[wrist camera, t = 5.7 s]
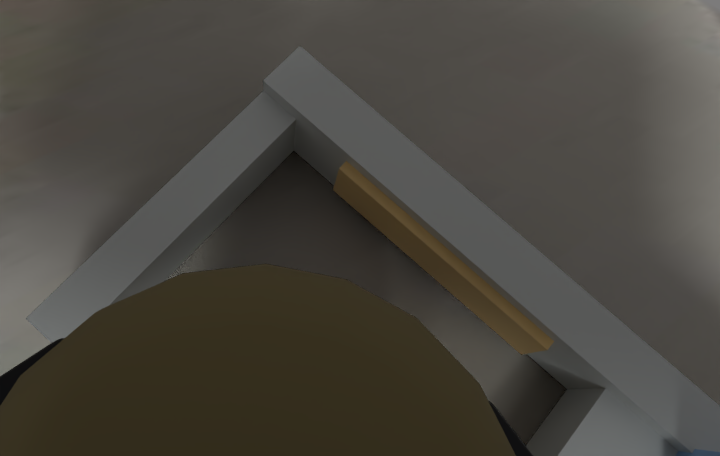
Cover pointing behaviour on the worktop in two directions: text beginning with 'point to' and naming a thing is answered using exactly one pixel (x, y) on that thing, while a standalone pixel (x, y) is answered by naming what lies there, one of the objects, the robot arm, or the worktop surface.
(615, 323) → the shallow tray
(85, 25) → the worktop surface
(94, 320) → the cork
